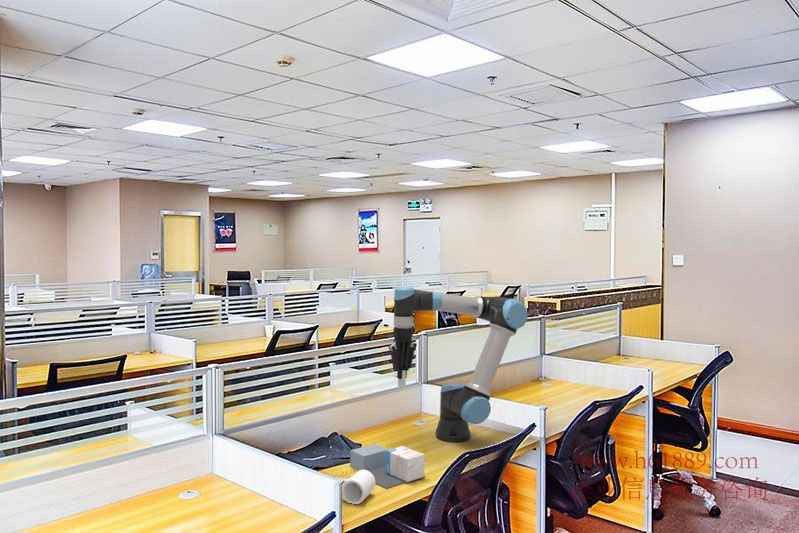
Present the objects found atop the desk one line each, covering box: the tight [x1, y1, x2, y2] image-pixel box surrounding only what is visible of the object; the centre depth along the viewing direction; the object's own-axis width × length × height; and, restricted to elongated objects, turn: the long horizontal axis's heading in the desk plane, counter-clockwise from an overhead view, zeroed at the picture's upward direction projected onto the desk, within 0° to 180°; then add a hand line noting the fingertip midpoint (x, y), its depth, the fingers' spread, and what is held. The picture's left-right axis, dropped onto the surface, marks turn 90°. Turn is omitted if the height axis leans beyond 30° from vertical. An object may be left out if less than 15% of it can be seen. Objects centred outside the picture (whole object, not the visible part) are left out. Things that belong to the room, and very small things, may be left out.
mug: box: [342, 470, 376, 505], centre depth 204 cm, size 12×10×8 cm
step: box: [349, 443, 390, 471], centre depth 233 cm, size 12×8×6 cm, turn 131°
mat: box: [369, 466, 425, 490], centre depth 224 cm, size 18×16×1 cm
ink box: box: [385, 445, 428, 483], centre depth 223 cm, size 9×8×13 cm
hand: (401, 386), depth 243 cm, fingers closed
